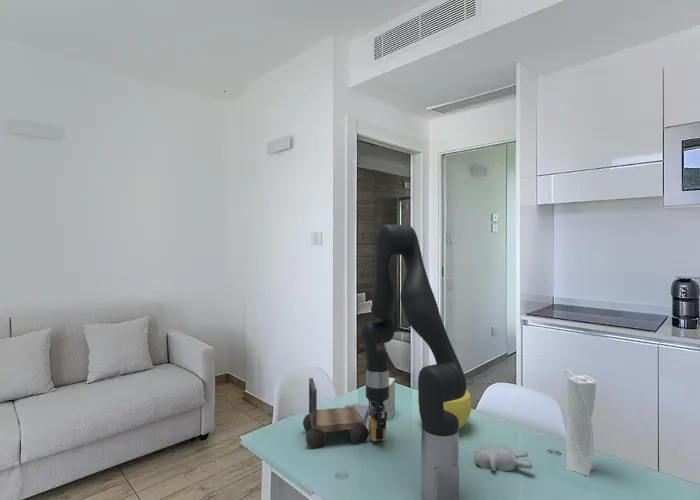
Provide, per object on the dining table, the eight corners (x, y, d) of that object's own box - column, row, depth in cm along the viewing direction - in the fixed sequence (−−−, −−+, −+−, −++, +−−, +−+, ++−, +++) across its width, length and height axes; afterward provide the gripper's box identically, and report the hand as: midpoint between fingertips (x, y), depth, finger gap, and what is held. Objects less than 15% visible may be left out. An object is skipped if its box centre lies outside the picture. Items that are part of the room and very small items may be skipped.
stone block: (339, 430, 139) (366, 426, 137) (336, 416, 139) (364, 413, 137) (345, 417, 150) (370, 413, 149) (343, 404, 151) (368, 400, 149)
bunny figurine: (472, 441, 119) (525, 442, 116) (474, 458, 119) (527, 459, 115) (474, 458, 110) (532, 459, 106) (477, 476, 110) (534, 478, 106)
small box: (379, 409, 152) (379, 375, 151) (395, 411, 149) (395, 377, 149) (373, 418, 144) (373, 382, 144) (389, 420, 142) (390, 385, 142)
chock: (385, 439, 125) (385, 424, 125) (372, 441, 124) (372, 425, 124) (381, 432, 130) (381, 417, 130) (368, 433, 129) (368, 418, 129)
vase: (440, 410, 150) (441, 333, 150) (482, 428, 136) (483, 343, 136) (407, 423, 139) (407, 340, 139) (448, 445, 125) (449, 351, 124)
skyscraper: (559, 469, 112) (561, 371, 111) (566, 458, 117) (567, 365, 117) (592, 480, 106) (593, 377, 106) (597, 468, 112) (598, 370, 112)
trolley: (360, 426, 138) (360, 374, 137) (368, 443, 126) (369, 386, 126) (302, 431, 133) (303, 378, 133) (306, 449, 122) (306, 391, 121)
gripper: (395, 390, 121) (395, 445, 121) (382, 375, 135) (381, 424, 135) (371, 392, 119) (371, 447, 119) (360, 376, 133) (360, 426, 133)
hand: (377, 435), depth 127 cm, fingers closed on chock, 5 cm apart
